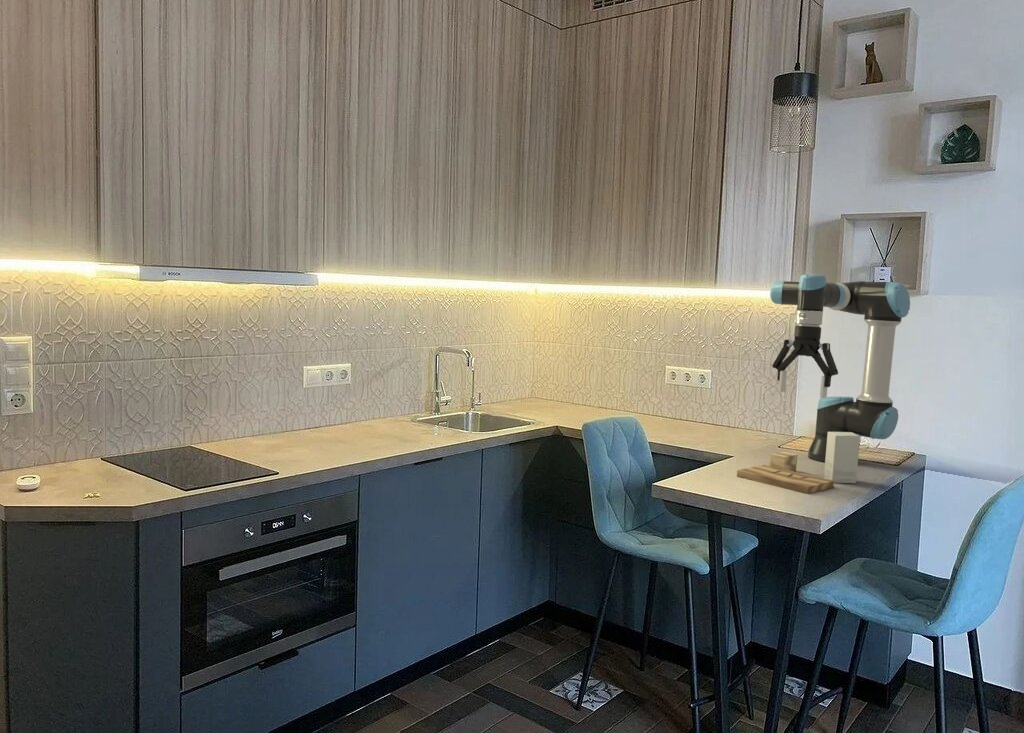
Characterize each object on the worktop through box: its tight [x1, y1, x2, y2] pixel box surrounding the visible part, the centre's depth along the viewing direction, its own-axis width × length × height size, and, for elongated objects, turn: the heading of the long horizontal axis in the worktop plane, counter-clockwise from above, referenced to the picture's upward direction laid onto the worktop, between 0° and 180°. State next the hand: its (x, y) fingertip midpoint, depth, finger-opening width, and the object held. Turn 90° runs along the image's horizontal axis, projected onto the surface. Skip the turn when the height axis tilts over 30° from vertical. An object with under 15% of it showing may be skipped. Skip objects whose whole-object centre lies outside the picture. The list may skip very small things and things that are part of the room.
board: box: [736, 464, 835, 495], centre depth 247 cm, size 16×24×2 cm, turn 41°
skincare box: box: [823, 432, 862, 484], centre depth 251 cm, size 8×7×16 cm
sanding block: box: [769, 451, 799, 472], centre depth 261 cm, size 8×5×6 cm, turn 131°
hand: (802, 394), depth 242 cm, fingers open, 13 cm apart
